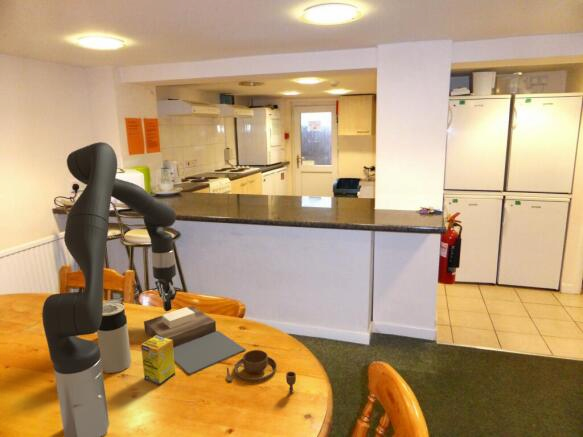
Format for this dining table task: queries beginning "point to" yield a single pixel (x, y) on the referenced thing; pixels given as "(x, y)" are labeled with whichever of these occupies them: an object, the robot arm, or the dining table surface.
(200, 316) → the walnut board
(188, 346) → the rubber mat
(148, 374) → the supplement box
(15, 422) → the dining table surface
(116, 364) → the travel mug
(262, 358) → the place setting
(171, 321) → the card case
